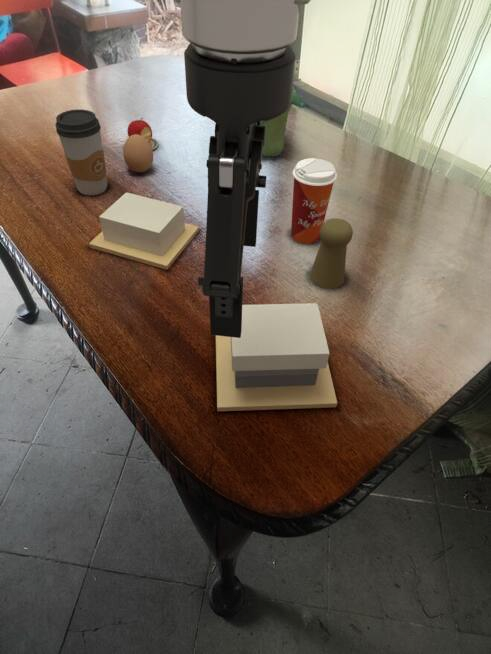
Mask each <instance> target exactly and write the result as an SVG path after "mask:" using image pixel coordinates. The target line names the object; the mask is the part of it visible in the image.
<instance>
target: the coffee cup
mask: <svg viewBox="0 0 491 654" xmlns="http://www.w3.org/2000/svg"><path fill="white" fill-rule="evenodd" d="M55 121H56V122H55V125H54V126H55V131H56V134H57V135H58V137H59V140H60V143H61V146H62V149H63V152H64V156H65V159H66V162H67V165H68V168H69V171H70V173H71V176H72V178H73V181H74V184H75V187H76V190H77V191H78V192H79V193H80V194H82V195H84V196H97V195H101V194H103V193H104V192H106V190H107V188H108V185H109V184H108V177H107V166H106V160H105V153H104V152H105V151H104V147H103V143H102V134H101V124H100V121H99V118H97V117H96V113H95V112H93V111H91V110H87V109H70V110H65V111H63V112H61V113H59V114H57V115H56V117H55Z"/></svg>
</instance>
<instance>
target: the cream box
mask: <svg viewBox="0 0 491 654" xmlns="http://www.w3.org/2000/svg"><path fill="white" fill-rule="evenodd" d="M184 212H185V211H184V206H183V205H178V204H174V203H170V202H167V201H163V200H159V199H154V198H150V197H147V196H142V195H139V194H135V193H131V192H125V193H124V194H122V196H120V198H118V199H117V200H116V201H115V202H113V203H112V204H111V205H110V206H109V207H108V208H107V209H106V210H105V211H104V212H102V213H101V214H100V215H99V216H98V218H99V219H98V220H99V223H100V228H101V232H100V233H98V234H97V235H96V236H95V237H94V238H93V239H92V240H91V241H90V242H89V243H88V246H89V248H90V249H93V250H97V251H100V252H103V253H107V254H111V255H114V256H117V257H121V258H125V259H128V260H131V261H133V262H134V261H135V262H138V263H142V264H145V265H148V266H152V267H155V268H159V269H162V270H166V271H168V270H169V269H170V268H171V266H172V265H173V264H174V263H175V262H176V261H177V259H178V258H179V256H180V255H181V254H182V253H183V251H185V249H186V248H187V247H188V245H189V244H190V243H191V241H192V240H193V239H194V238H195V237H196V236H197V234H198V233H199V231H200V226H199V225H195V224H190V223H187V222H185V213H184Z"/></svg>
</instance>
